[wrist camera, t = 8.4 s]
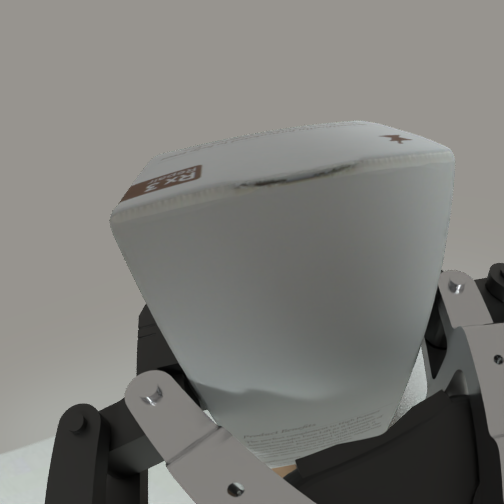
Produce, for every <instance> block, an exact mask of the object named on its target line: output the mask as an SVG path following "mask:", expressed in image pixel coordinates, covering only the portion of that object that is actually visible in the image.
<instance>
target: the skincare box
mask: <svg viewBox="0 0 504 504" xmlns="http://www.w3.org/2000/svg"><path fill="white" fill-rule="evenodd" d="M454 176H455V159H454V155H453V153H452V151H451V149H450V148H448V147H446V146H444V145H442V144H439V143H437V142H435V141H432V140H430V139H427V138H425V137H422V136H419V135H416V134H412V133H409V132H406V131H402V130H399V129H395V128H392V127H389V126H386V125H382V124H378V123H374V122H366V121H360V120H359V121H347V122H336V123H327V124H317V125H307V126H299V127H293V128H285V129H279V130H273V131H267V132H261V133H255V134H250V135H244V136H239V137H234V138H229V139H224V140H220V141H215V142H210V143H206V144H201V145H197V146H193V147H189V148H185V149H180V150H176V151H172V152H167V153H163V154H159V155H157V156H155V157H154V158H152V160H150V162H149V163H148V164H147V165H146V166H145V168H144V169H143V170H142V172H141V173H140V174H139V176H138V177H137V178H136V180H135V181H134V182H133V184H132V185H131V187H130V188H129V190H128V191H127V192H126V194H125V195H124V197H123V198H122V200H121V201H120V202H119V204H118V205H117V206H116V207H115V209H114V210H113V211H112V214H111V217H110V220H109V221H110V227H111V230H112V233H113V235H114V237H115V240H116V242H117V244H118V246H119V248H120V250H121V253H122V255H123V257H124V259H125V261H126V263H127V265H128V267H129V269H130V271H131V273H132V276H133V277H134V280H135V281H136V284H137V286H138V288H139V290H140V292H141V293H142V295H143V298H144V300H145V302H146V304H147V306H148V308H149V310H150V312H151V314H152V315H153V317H154V319H155V321H156V323H157V325H158V327H159V329H160V330H161V332H162V334H163V336H164V338H165V339H166V341H167V343H168V345H169V347H170V348H171V350H172V352H173V354H174V355H175V357H176V359H177V361H178V362H179V364H180V366H181V368H182V369H183V371H184V373H185V374H186V376H187V378H188V379H189V381H190V383H191V384H192V386H193V387H194V389H195V391H196V392H197V394H198V395H199V397H200V399H201V400H202V402H203V403H204V405H205V406H206V408H207V409H208V411H209V412H210V414H211V416H212V417H213V419H214V420H215V422H216V423H217V425H218V426H222V427H224V428H225V429H226V430H227V431H229V432H230V433H231V434H232V435H233V436H234V437H235V438H236V439H237V440H238V441H239V442H241V443H242V444H243V445H244V446H245V447H246V448H247V449H248V450H249V451H251V452H252V453H253V454H254V455H255V456H256V457H257V458H259V459H260V460H261V461H262V462H263V463H264V464H266V465H267V466H268V467H269V468H270V469H271V468H277V467H283V466H288V465H294V464H295V460H296V459H299V458H302V457H305V456H307V455H310V454H313V453H316V452H318V451H321V450H324V449H326V448H329V447H331V446H334V445H336V444H341V443H346V442H352V441H357V440H361V439H366V438H371V437H375V436H379V435H381V434H383V433H385V432H386V431H387V429H388V427H389V425H390V423H391V421H392V419H393V416H394V414H395V412H396V410H397V407H398V405H399V403H400V401H401V398H402V395H403V393H404V391H405V388H406V386H407V383H408V381H409V378H410V375H411V373H412V370H413V367H414V364H415V362H416V359H417V356H418V353H419V350H420V347H421V344H422V340H423V337H424V334H425V331H426V328H427V324H428V321H429V318H430V314H431V311H432V307H433V303H434V299H435V295H436V291H437V286H438V281H439V277H440V273H441V269H442V264H443V259H444V252H445V246H446V239H447V234H448V228H449V221H450V214H451V205H452V196H453V187H454Z"/></svg>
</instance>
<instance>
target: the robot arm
mask: <svg viewBox="0 0 504 504" xmlns="http://www.w3.org/2000/svg"><path fill="white" fill-rule="evenodd" d="M138 328H139V330H138V345H137V376H136V377H135V378H134V379H133V380H132V381H131V382H130V383H129V385H128V387H127V388H126V391H125V398H123V399H122V400H120V401H119V402H117V403H115V404H113V405H111V406H109V407H107V408H104V409H103V410H100V411H97V410H96V408H94V407H93V406H91V405H89V404H77V405H74V406H72V407H71V408H69V409H68V410H67V411H66V412H65V413H64V414H63V416H62V417H61V419H60V421H59V425H58V428H57V433H56V437H55V442H54V447H53V452H52V458H51V463H50V469H49V476H48V482H47V490H46V498H45V504H148V468H150V467H152V466H154V465H157V464H159V463H161V462H163V461H165V462H166V467H167V469H168V470H169V472H170V473H171V474H172V476H173V477H174V478H175V480H176V481H177V482H178V483H179V484H180V486H181V487H182V488H183V489H184V490H185V492H186V493H187V494H188V495H189V496H190V497H191V498H192V500H193V501H194V502H195V503H196V504H504V263H497V264H494V265H492V266H491V267H490V271H489V274H488V277H487V278H484V279H478V280H473V279H472V278H471V277H470V276H469V275H467V274H466V273H464V272H461V271H457V270H448V271H444V272H443V271H442V270H441V273H440V277H439V281H438V286H437V291H436V295H435V299H434V303H433V307H432V311H431V314H430V318H429V321H428V324H427V328H426V331H425V334H424V337H423V340H422V344H421V348H422V354H423V359H424V365H425V372H426V379H427V396H426V399H425V400H424V401H422V402H420V403H419V404H417V405H415V406H413V407H412V408H411V409H410V410H409V411H408V412H407V413H406V414H405V415H404V416H402V417H401V418H400V419H399V420H398V421H397V422H396V423H395V424H394V425H393V426H392V427H390V428H389V429H388V430H387V431H386V432H385V433H383V434H381V435H379V436H375V437H371V438H366V439H361V440H357V441H352V442H346V443H341V444H336V445H334V446H331V447H329V448H326V449H324V450H321V451H318V452H316V453H313V454H310V455H307V456H305V457H302V458H299V459H296V460H295V464H296V469H295V470H293V471H292V472H290V473H288V474H287V475H286V476H284V477H283V478H282V477H280V476H279V475H278V474H277V473H275V472H274V471H273V470H272V469H270V468H269V467H268V466H267V465H266V464H264V463H263V462H262V461H261V460H260V459H259V458H257V457H256V456H255V455H254V454H253V453H252V452H251V451H249V450H248V449H247V448H246V447H245V446H244V445H243V444H242V443H241V442H239V441H238V440H237V439H236V438H235V437H234V436H233V435H232V434H231V433H230V432H229V431H227V430H226V429H225V428H224V427H222V426H218V425H217V424H215V423H214V422H213V421H212V420H211V419H210V418H209V417H208V416H207V415H206V414H205V413H204V412H203V410H208V409H207V408H206V406H205V405H204V403H203V402H202V400H201V399H200V397H199V395H198V394H197V392H196V391H195V389H194V387H193V386H192V384H191V383H190V381H189V379H188V378H187V376H186V374H185V373H184V371H183V369H182V368H181V366H180V364H179V362H178V361H177V359H176V357H175V355H174V354H173V352H172V350H171V348H170V347H169V345H168V343H167V341H166V339H165V338H164V336H163V334H162V332H161V330H160V329H159V327H158V325H157V323H156V321H155V319H154V317H153V315H152V314H151V312H150V310H149V308H148V306H147V304H146V305H145V306H144V308H143V310H142V312H141V314H140V315H139V325H138Z"/></svg>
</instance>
